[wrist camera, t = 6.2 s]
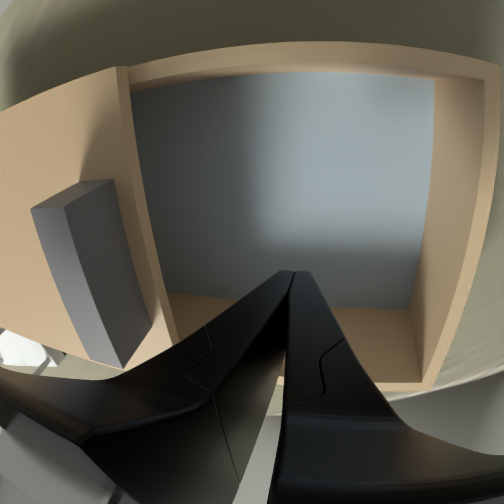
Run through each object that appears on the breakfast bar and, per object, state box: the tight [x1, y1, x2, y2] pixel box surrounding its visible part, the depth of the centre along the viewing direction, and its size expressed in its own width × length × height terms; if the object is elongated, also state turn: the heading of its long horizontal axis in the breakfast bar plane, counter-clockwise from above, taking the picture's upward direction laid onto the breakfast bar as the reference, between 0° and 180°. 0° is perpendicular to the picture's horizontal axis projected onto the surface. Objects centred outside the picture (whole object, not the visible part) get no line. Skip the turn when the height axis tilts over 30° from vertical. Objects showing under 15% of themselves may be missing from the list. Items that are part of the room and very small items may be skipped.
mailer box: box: [127, 41, 501, 391], centre depth 14 cm, size 18×13×6 cm
